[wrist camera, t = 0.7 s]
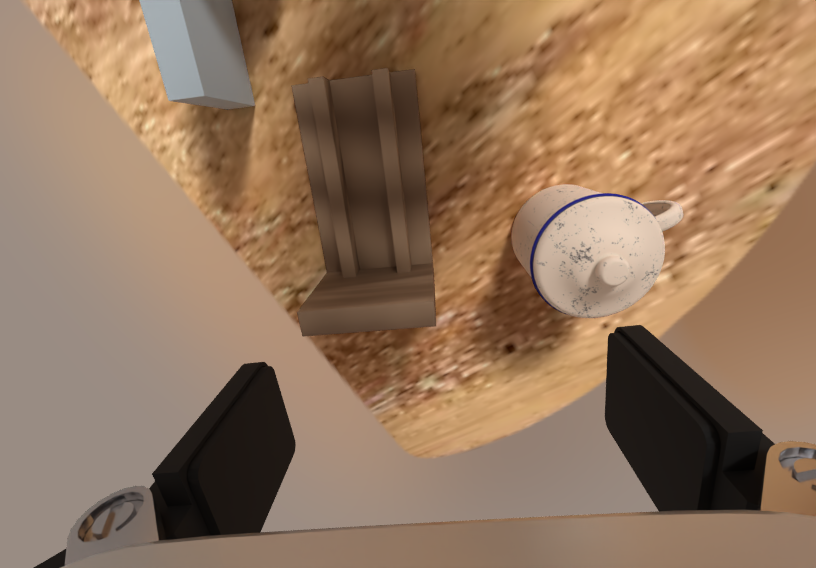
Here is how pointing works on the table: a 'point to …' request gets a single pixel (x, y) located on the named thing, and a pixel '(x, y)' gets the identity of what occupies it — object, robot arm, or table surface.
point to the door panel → (199, 52)
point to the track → (367, 203)
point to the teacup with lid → (591, 247)
